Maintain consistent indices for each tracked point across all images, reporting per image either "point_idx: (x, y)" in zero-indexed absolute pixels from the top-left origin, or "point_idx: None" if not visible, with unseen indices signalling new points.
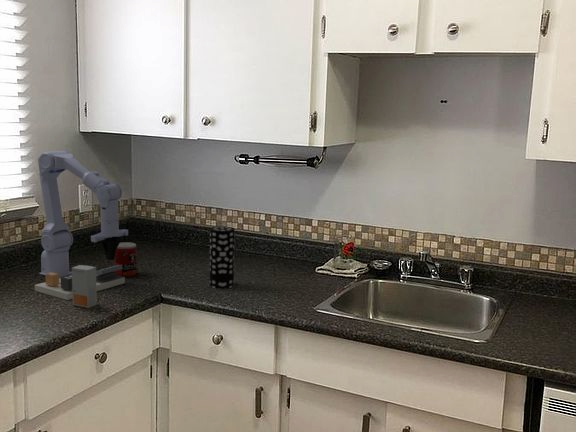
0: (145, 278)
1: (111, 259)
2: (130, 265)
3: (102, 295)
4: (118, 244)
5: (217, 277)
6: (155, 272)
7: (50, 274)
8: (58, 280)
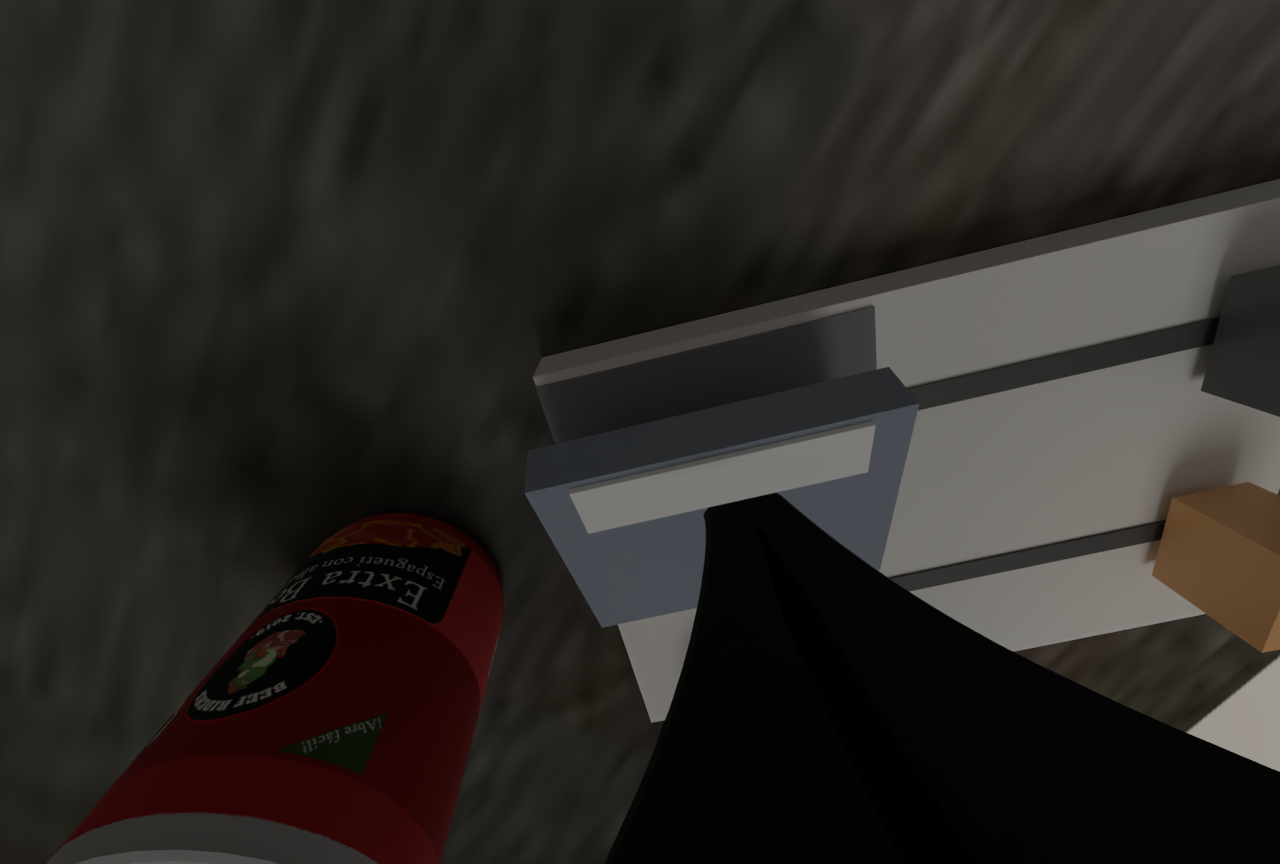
0: (283, 376)
1: (779, 494)
2: (351, 582)
3: (984, 75)
4: (646, 821)
5: None
6: (119, 499)
7: None
8: (1222, 520)
